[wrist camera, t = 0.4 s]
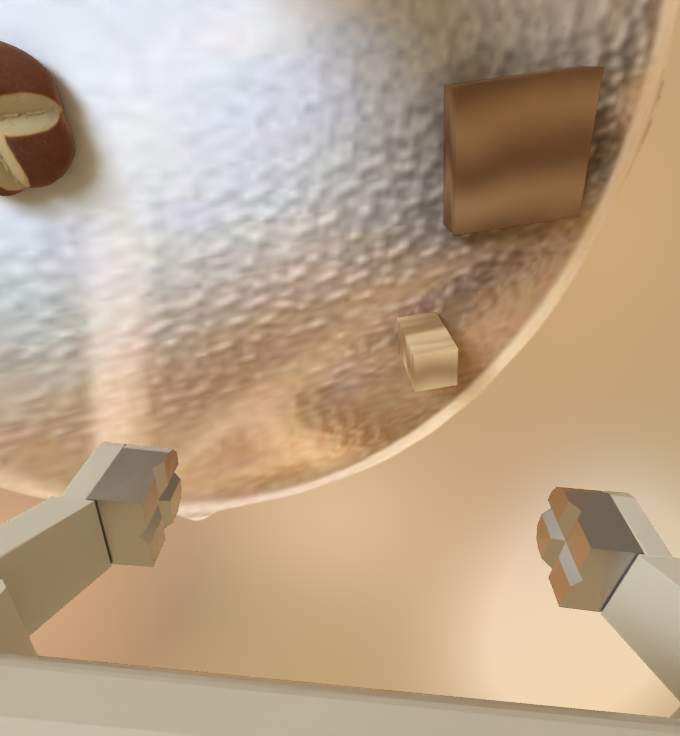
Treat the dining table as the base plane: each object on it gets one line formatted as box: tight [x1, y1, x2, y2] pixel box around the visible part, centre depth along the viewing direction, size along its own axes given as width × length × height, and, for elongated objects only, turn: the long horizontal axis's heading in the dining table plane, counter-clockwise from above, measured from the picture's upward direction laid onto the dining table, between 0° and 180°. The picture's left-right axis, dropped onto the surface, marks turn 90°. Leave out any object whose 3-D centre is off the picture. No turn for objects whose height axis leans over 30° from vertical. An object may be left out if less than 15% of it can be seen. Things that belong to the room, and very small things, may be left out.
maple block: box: [397, 312, 458, 392], centre depth 51 cm, size 4×4×8 cm
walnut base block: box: [444, 66, 604, 235], centre depth 43 cm, size 12×12×4 cm
